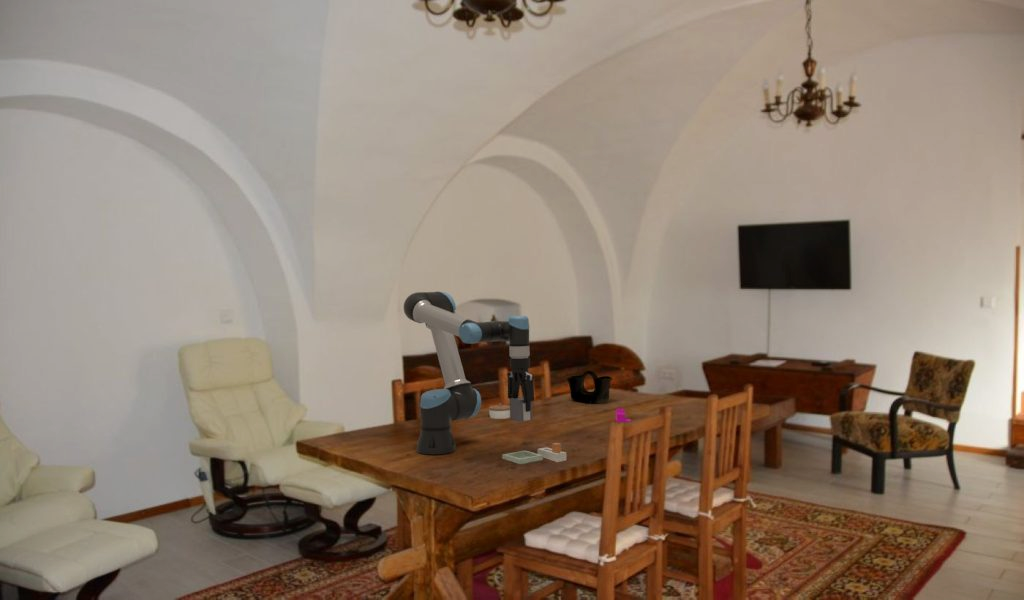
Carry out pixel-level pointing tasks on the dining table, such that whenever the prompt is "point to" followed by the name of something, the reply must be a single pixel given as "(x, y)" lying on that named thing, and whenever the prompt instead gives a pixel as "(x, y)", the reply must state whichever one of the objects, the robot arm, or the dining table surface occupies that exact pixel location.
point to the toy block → (621, 416)
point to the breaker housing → (552, 454)
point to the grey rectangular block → (518, 409)
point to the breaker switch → (556, 447)
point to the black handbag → (586, 397)
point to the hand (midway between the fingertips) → (521, 419)
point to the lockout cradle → (522, 457)
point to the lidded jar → (499, 411)
